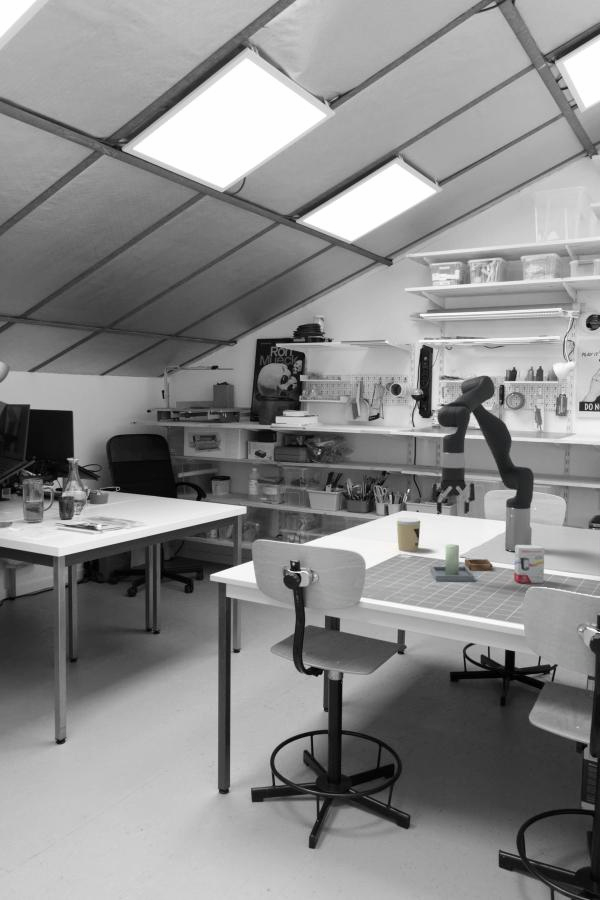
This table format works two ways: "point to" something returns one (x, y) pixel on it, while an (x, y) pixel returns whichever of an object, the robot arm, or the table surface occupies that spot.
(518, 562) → the ink box
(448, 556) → the peg
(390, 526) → the table surface
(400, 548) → the coffee cup
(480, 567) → the socket
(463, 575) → the tray
